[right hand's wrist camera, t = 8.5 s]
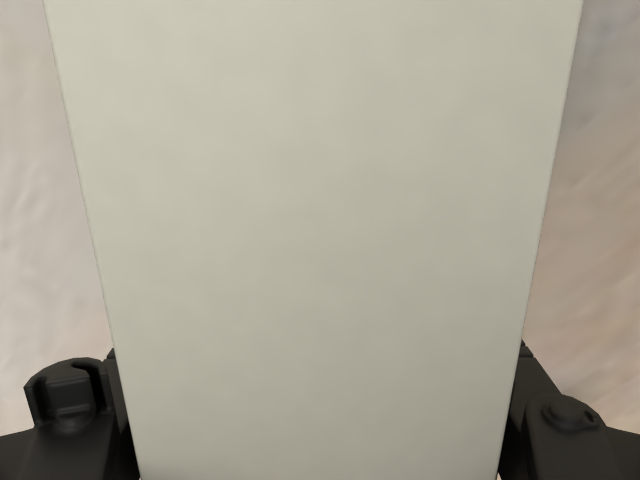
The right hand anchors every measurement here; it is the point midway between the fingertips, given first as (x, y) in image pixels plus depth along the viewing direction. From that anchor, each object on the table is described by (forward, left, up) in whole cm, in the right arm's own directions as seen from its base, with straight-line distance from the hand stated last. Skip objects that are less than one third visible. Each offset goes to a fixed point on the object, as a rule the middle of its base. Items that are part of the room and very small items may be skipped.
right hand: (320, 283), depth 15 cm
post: (+28, -12, 0) cm, 30 cm away
